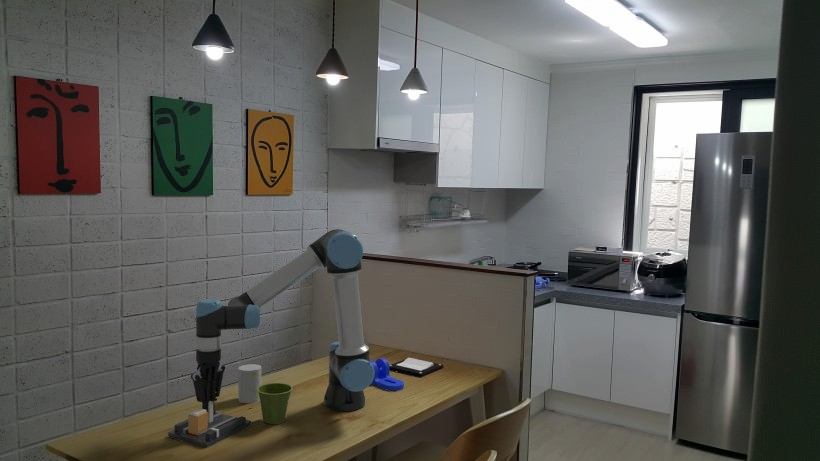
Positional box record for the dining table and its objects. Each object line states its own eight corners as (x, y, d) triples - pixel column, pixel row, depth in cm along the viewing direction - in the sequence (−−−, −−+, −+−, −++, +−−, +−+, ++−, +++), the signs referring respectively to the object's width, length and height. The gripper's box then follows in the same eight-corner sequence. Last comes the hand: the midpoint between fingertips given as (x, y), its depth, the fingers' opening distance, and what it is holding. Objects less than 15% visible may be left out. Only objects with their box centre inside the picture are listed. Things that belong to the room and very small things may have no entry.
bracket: (362, 381, 252) (363, 360, 251) (378, 377, 257) (378, 356, 257) (393, 392, 239) (393, 370, 238) (408, 388, 245) (408, 366, 244)
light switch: (443, 361, 273) (421, 370, 258) (443, 369, 273) (421, 378, 258) (409, 354, 283) (386, 362, 268) (409, 361, 283) (386, 370, 269)
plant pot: (274, 430, 199) (275, 396, 198) (248, 422, 205) (249, 389, 205) (299, 419, 209) (300, 386, 208) (274, 411, 215) (274, 380, 215)
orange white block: (208, 430, 193) (208, 410, 193) (197, 435, 189) (197, 414, 189) (198, 428, 195) (198, 407, 195) (188, 432, 191) (187, 412, 191)
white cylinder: (255, 404, 222) (255, 371, 222) (234, 401, 224) (234, 369, 223) (264, 396, 230) (265, 365, 230) (244, 394, 232) (244, 363, 231)
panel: (251, 425, 203) (251, 417, 203) (206, 447, 185) (206, 439, 185) (214, 416, 210) (214, 408, 210) (168, 437, 192) (168, 428, 192)
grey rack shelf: (246, 422, 201) (246, 416, 201) (210, 440, 187) (210, 433, 186) (210, 414, 208) (210, 407, 208) (173, 430, 193) (173, 423, 193)
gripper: (214, 342, 202) (214, 412, 204) (184, 351, 190) (183, 425, 192) (232, 345, 199) (231, 416, 200) (202, 355, 187) (201, 430, 189)
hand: (208, 421), depth 196 cm, fingers closed
